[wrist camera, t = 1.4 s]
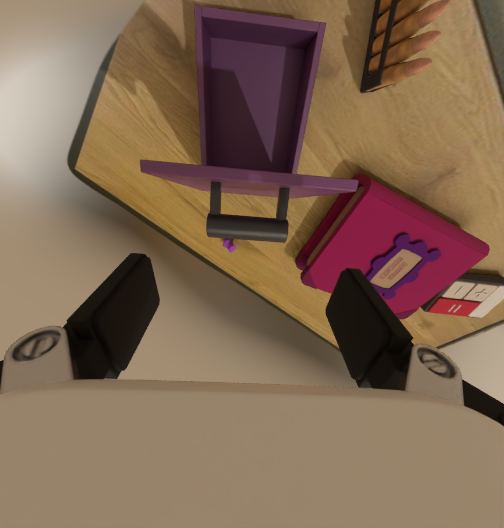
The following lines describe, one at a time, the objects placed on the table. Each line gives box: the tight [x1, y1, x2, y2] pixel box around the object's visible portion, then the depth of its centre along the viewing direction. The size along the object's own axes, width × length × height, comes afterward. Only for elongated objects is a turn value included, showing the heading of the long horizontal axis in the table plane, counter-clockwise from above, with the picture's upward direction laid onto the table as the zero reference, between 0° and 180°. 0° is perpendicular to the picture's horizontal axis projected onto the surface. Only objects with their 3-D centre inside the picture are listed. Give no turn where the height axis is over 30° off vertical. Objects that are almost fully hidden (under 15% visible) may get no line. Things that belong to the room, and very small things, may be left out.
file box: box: [194, 5, 326, 174], centre depth 28 cm, size 17×13×7 cm
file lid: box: [140, 160, 358, 243], centre depth 22 cm, size 18×13×5 cm
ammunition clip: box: [360, 0, 450, 93], centre depth 21 cm, size 11×2×12 cm, turn 5°
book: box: [295, 174, 490, 319], centre depth 40 cm, size 21×28×8 cm
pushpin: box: [223, 238, 236, 252], centre depth 41 cm, size 2×3×3 cm
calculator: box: [421, 273, 504, 318], centre depth 49 cm, size 11×4×15 cm
